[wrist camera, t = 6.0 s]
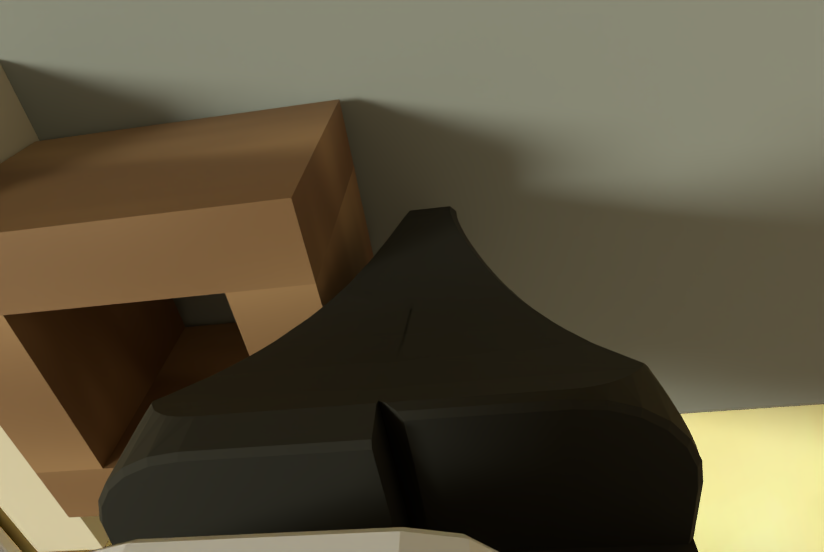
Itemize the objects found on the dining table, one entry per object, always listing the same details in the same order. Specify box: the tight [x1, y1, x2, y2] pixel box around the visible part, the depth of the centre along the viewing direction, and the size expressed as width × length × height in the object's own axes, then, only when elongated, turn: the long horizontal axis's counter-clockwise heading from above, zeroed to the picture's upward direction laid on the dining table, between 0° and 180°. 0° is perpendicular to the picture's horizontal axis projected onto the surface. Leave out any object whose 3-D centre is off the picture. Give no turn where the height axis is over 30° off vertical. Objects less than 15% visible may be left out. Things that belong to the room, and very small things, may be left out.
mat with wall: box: [0, 0, 824, 552], centre depth 11 cm, size 12×18×4 cm, turn 99°
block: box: [0, 99, 374, 518], centre depth 11 cm, size 6×6×4 cm
